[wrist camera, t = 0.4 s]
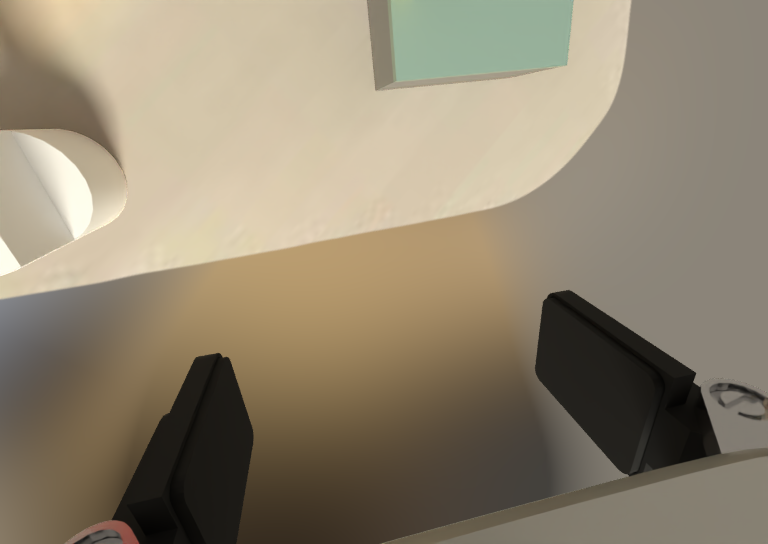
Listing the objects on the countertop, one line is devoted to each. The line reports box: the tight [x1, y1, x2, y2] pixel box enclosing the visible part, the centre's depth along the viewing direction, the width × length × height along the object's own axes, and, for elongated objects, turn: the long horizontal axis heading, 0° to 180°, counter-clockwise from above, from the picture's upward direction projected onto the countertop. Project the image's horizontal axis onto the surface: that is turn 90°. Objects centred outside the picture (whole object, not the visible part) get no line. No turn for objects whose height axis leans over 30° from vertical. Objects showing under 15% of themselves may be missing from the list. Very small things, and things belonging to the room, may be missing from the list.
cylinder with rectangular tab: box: [0, 129, 128, 276], centre depth 27 cm, size 9×9×12 cm
